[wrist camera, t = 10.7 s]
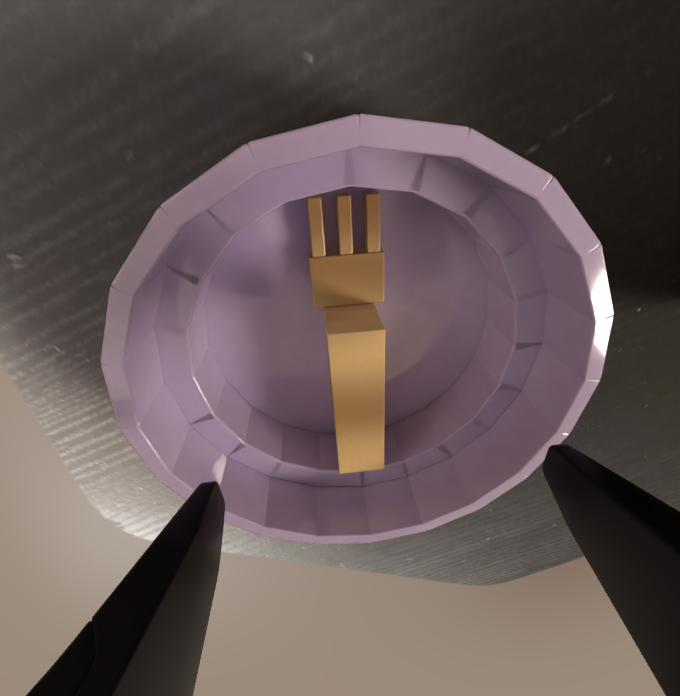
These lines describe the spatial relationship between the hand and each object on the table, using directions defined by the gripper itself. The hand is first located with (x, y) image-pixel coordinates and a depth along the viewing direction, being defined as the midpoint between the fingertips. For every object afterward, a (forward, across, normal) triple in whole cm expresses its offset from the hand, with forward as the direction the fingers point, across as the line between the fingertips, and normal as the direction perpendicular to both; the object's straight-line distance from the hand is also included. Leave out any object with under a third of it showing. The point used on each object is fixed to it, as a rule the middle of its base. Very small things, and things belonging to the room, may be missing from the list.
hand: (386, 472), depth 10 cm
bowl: (+8, 0, -1) cm, 8 cm away
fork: (+7, 0, -1) cm, 7 cm away
